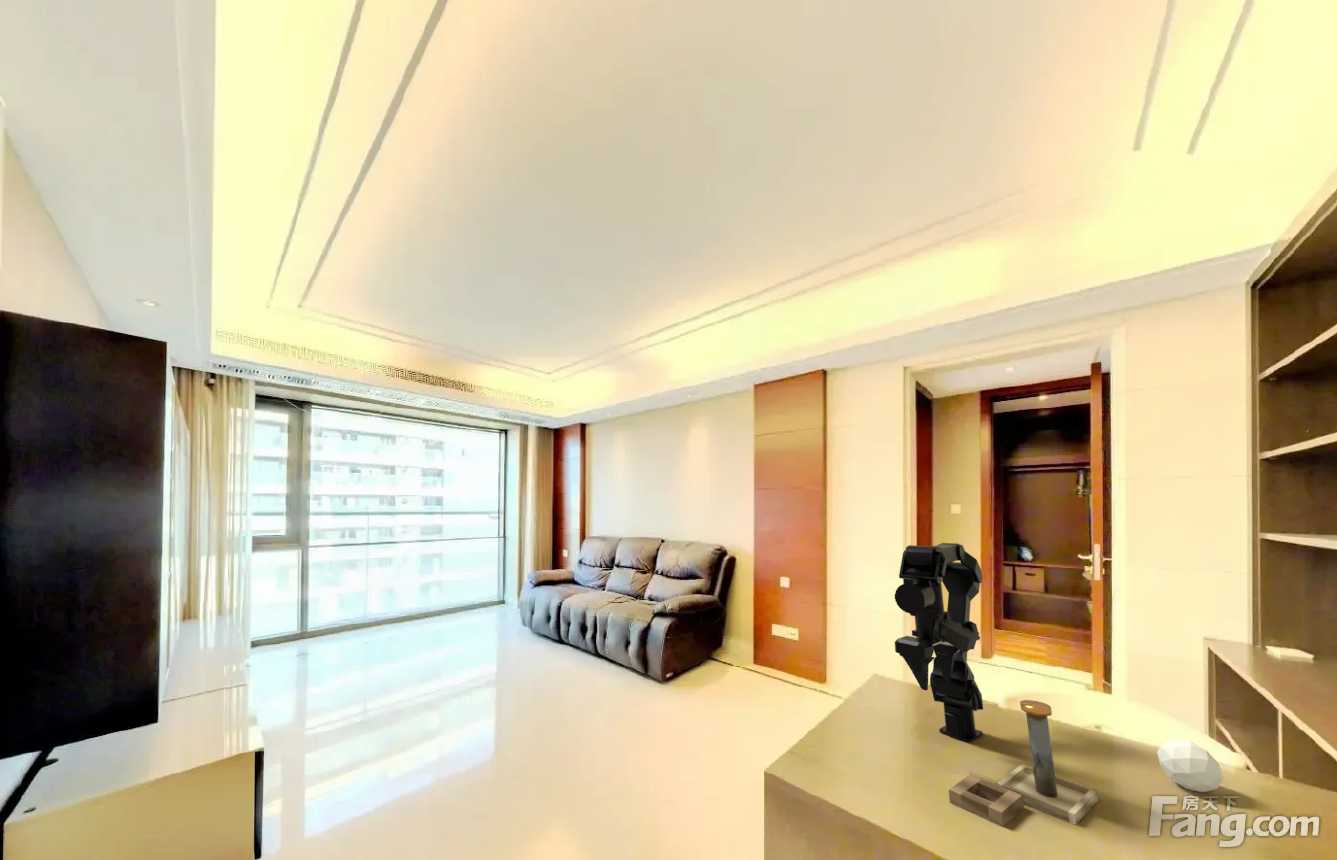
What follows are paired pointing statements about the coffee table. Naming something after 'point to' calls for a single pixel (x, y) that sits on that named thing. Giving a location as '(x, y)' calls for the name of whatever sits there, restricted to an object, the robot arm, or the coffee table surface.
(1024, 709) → the pin
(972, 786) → the block
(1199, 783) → the geometric ball
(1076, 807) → the tray
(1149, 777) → the coffee table surface
